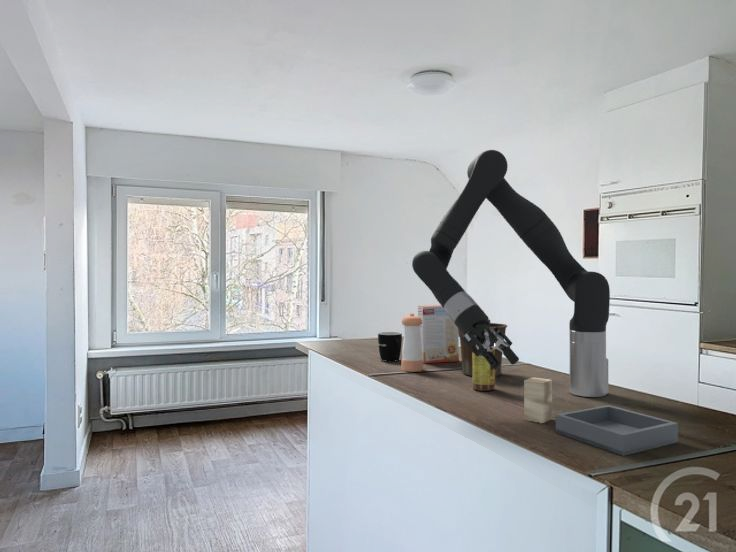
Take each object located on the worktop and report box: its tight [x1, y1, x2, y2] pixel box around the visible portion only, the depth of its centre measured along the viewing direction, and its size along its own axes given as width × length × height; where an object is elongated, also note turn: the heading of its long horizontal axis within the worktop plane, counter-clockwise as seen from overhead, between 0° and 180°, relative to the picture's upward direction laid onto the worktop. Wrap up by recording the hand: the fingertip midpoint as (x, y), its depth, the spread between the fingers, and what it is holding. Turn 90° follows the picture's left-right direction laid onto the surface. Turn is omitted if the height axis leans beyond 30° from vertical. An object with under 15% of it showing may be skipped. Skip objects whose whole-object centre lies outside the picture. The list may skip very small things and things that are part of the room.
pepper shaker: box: [400, 313, 424, 373], centre depth 183 cm, size 7×7×19 cm
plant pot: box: [458, 322, 508, 377], centre depth 176 cm, size 16×16×16 cm
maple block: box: [523, 376, 553, 424], centre depth 123 cm, size 4×4×9 cm
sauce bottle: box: [472, 319, 496, 392], centre depth 153 cm, size 7×6×20 cm
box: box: [555, 404, 679, 457], centre depth 109 cm, size 16×16×4 cm
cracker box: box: [417, 304, 460, 364], centre depth 199 cm, size 14×6×21 cm, turn 105°
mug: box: [377, 331, 403, 362], centre depth 202 cm, size 12×9×10 cm
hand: (507, 364), depth 128 cm, fingers open, 8 cm apart
